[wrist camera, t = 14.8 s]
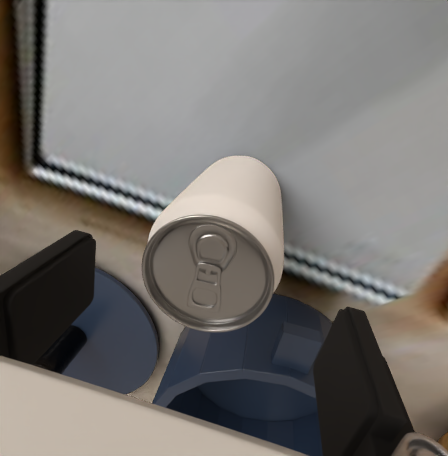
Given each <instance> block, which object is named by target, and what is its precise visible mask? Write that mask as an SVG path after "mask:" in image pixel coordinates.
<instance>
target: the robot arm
mask: <svg viewBox="0 0 448 456" xmlns="http://www.w3.org/2000/svg"><path fill="white" fill-rule="evenodd" d="M95 253H96V241H95V239H93V237H92V235H91V234H89V233H85V232H81V231H78V230H75V231H73V232H71V233H69V234H68V235H66V236H64V237H63V238H61V239H60V240H58V241H56V242H55V243H53V244H51V245H50V246H48V247H47V248H45V249H43V250H42V251H40V252H38V253H37V254H35V255H34V256H32V257H30V258H29V259H27V260H25V261H24V262H22V263H21V264H19V265H17V266H16V267H14V268H12V269H11V270H9V271H8V272H6V273H4V274H3V275H1V276H0V456H309V455H306V454H303V453H300V452H297V451H294V450H291V449H289V448H286V447H283V446H280V445H277V444H274V443H271V442H268V441H265V440H262V439H259V438H256V437H253V436H250V435H247V434H244V433H241V432H238V431H235V430H232V429H229V428H226V427H223V426H220V425H217V424H214V423H210V422H207V421H204V420H201V419H198V418H195V417H192V416H189V415H186V414H183V413H180V412H177V411H174V410H171V409H168V408H165V407H162V406H158V405H155V404H152V403H149V402H146V401H143V400H140V399H137V398H134V397H131V396H128V395H124V394H121V393H118V392H115V391H112V390H109V389H106V388H103V387H100V386H96V385H93V384H90V383H87V382H84V381H81V380H78V379H74V378H71V377H68V376H65V375H62V374H59V373H56V372H52V371H49V370H46V369H43V368H40V367H37V366H34V365H33V364H34V363H35V362H36V361H37V360H38V359H39V358H40V357H41V356H42V355H43V354H44V353H45V352H46V351H47V349H48V348H49V347H50V346H51V345H52V344H53V343H54V342H55V341H56V340H57V339H58V338H59V337H60V336H61V335H62V334H63V333H64V332H65V331H66V329H67V328H68V327H69V326H70V325H71V324H72V323H73V322H74V321H75V320H76V319H77V318H78V317H79V316H80V315H81V314H82V313H83V312H84V311H85V309H86V308H87V307H88V306H89V305H90V304H91V302H92V301H93V298H94V282H95ZM313 375H314V384H315V392H316V401H317V410H318V418H319V427H320V436H321V445H322V453H323V456H448V451H447V450H446V449H445V448H444V447H443V446H442V445H441V444H439V443H438V442H436V441H435V440H434V439H432V438H430V437H428V436H426V435H424V434H421V433H416V432H415V431H414V429H413V426H412V424H411V422H410V419H409V417H408V414H407V412H406V409H405V407H404V404H403V402H402V399H401V397H400V394H399V392H398V389H397V387H396V384H395V382H394V379H393V377H392V374H391V372H390V369H389V367H388V364H387V362H386V360H385V358H384V357H383V356H382V354H381V351H380V349H379V346H378V344H377V341H376V339H375V336H374V334H373V331H372V329H371V326H370V324H369V321H368V319H367V316H366V314H365V312H364V311H361V310H358V309H354V308H351V307H346V308H345V309H344V310H343V309H340V310H339V312H338V314H337V316H336V318H335V320H334V322H333V324H332V326H331V328H330V331H329V333H328V335H327V337H326V339H325V341H324V343H323V345H322V347H321V350H320V352H319V354H318V356H317V358H316V360H315V363H314V367H313Z"/></svg>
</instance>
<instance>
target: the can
mask: <svg viewBox="0 0 448 456" xmlns="http://www.w3.org/2000/svg"><path fill="white" fill-rule="evenodd" d="M283 266H284V238H283V216H282V199H281V190H280V186H279V183H278V181H277V179H276V177H275V175H274V174H273V172H272V171H271V170H270V169H269V168H268V167H267V166H266V165H265V164H263V163H262V162H261V161H259V160H257V159H255V158H252V157H248V156H229V157H225V158H222V159H220V160H218V161H216V162H215V163H213V164H212V165H211V166H209V167H208V168H207V169H206V170H205V171H204V172H203V173H202V174H201V175H200V176H199V177H197V178H196V179H195V180H194V181H193V182H192V183H191V184H190V185H189V186H188V187H187V188H186V189H185V190H184V191H183V192H182V193H181V194H180V195H179V196H177V197H176V198H175V199H174V200H173V201H172V202H171V203H170V204H169V205H168V206H167V207H166V208H165V210H164V211H163V212H162V213H161V214H160V215H159V217H158V218H157V220H156V221H155V223H154V224H153V226H152V229H151V231H150V234H149V238H148V243H147V245H146V248H145V250H144V253H143V258H142V276H143V280H144V284H145V287H146V289H147V291H148V293H149V295H150V297H151V298H152V300H153V301H154V302H155V304H156V305H157V306H158V307H159V308H160V309H161V310H162V311H163V312H164V313H165V314H166V315H167V316H169V317H170V318H171V319H173V320H175V321H176V322H178V323H180V324H182V325H184V326H186V327H189V328H192V329H195V330H199V331H204V332H228V331H233V330H236V329H239V328H242V327H244V326H246V325H248V324H250V323H251V322H253V321H254V320H255V319H257V318H258V317H259V316H260V315H261V314H262V313H263V312H264V310H265V309H266V308H267V306H268V304H269V302H270V300H271V298H272V295H273V293H274V291H275V290H276V288H277V286H278V284H279V282H280V279H281V276H282V272H283Z"/></svg>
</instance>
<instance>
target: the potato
mask: <svg viewBox="0 0 448 456" xmlns="http://www.w3.org/2000/svg"><path fill="white" fill-rule="evenodd" d="M438 443H439V444H441V445H442V446H443V447H444V448H445V449H446V450H447V451H448V432H447V433H446V434H444V435H443V436H442V437H441V438H440V439H439V441H438Z"/></svg>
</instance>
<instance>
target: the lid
mask: <svg viewBox="0 0 448 456" xmlns="http://www.w3.org/2000/svg"><path fill="white" fill-rule="evenodd" d="M158 354H159V344H158V337H157V333H156V329H155V327H154V324H153V322H152V319H151V318H150V316H149V314H148V312H147V310H146V309H145V308H144V306H143V305H142V304H141V302H140V301H139V300H138V299H137V298H136V296H135V295H134V294H133V293H132V292H131V291H130V290H129V289H127V288H126V287H125V286H124V285H123V284H122V283H120V282H119V281H118V280H116V279H115V278H114V277H112V276H111V275H109V274H107V273H105V272H104V271H102V270H100V269H98V268H96V267H95V282H94V298H93V301H92V302H91V304H90V305H89V306H88V307H87V308H86V309H85V311H84V312H83V313H82V314H81V315H80V316H79V317H78V318H77V319H76V320H75V321H74V322H73V323H72V324H71V325H70V326H69V327H68V328H67V329H66V331H65V332H64V333H63V334H62V335H61V336H60V337H59V338H58V339H57V340H56V341H55V342H54V343H53V344H52V345H51V346H50V347H49V348H48V349H47V351H46V352H45V353H44V354H43V355H42V356H41V357H40V358H39V359H38V360H37V361H36V362H35V363H34V364H33V365H34V366H37V367H40V368H43V369H46V370H49V371H52V372H56V373H59V374H62V375H65V376H68V377H71V378H74V379H78V380H81V381H84V382H87V383H90V384H93V385H96V386H100V387H103V388H106V389H109V390H112V391H115V392H118V393H121V394H128V393H130V392H132V391H134V390H136V389H138V388H139V387H141V386H142V385H143V384H144V383H145V382H146V381H147V380H148V379H149V377H150V376H151V375H152V373H153V370H154V368H155V366H156V364H157V360H158Z"/></svg>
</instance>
